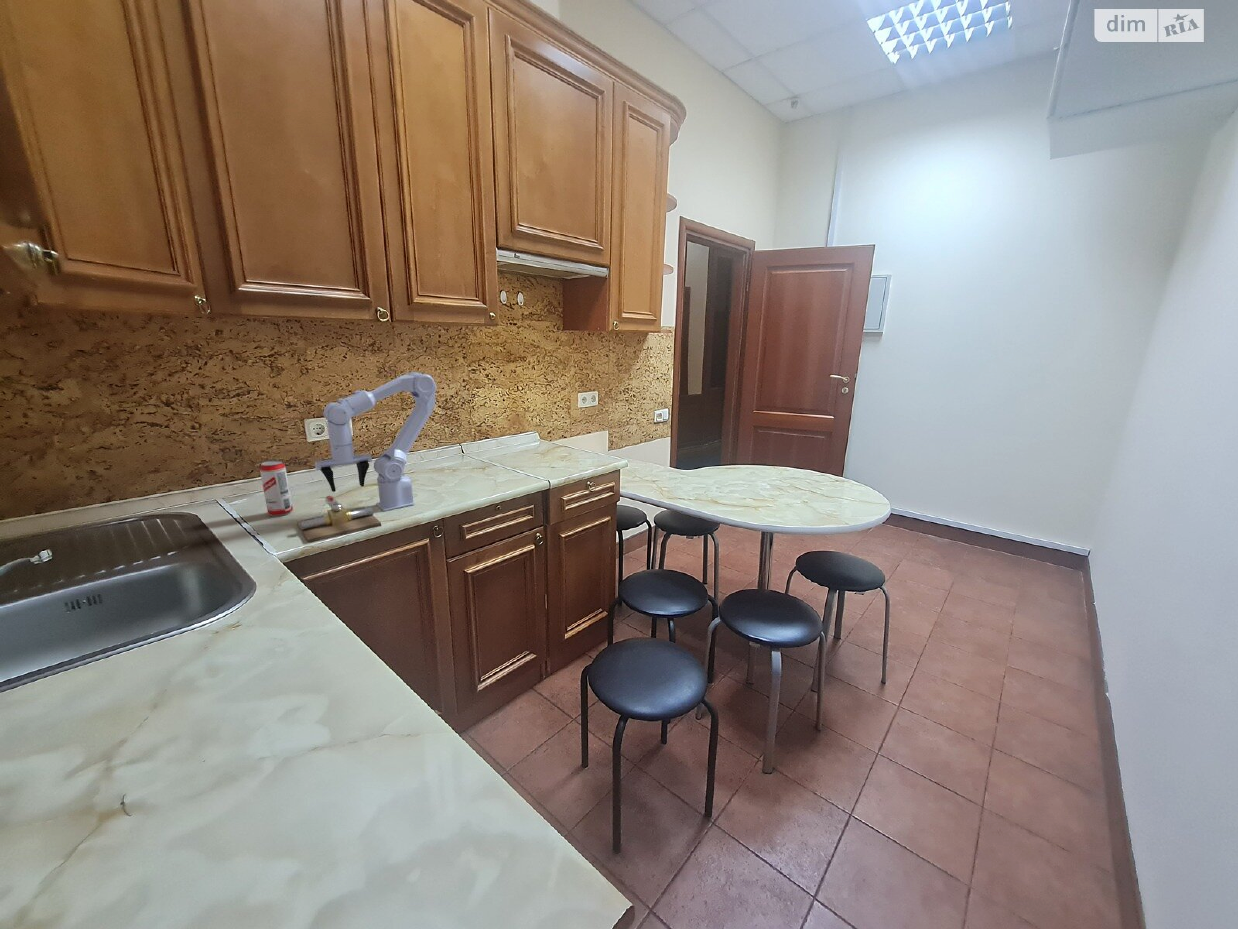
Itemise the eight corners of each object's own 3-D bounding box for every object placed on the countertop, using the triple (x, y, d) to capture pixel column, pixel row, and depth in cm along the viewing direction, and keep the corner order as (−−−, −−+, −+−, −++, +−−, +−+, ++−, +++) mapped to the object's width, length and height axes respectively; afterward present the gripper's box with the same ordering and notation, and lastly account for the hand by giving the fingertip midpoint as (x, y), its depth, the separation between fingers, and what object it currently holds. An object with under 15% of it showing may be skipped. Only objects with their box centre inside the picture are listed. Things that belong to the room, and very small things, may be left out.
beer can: (280, 518, 141) (271, 466, 136) (263, 516, 142) (252, 464, 138) (298, 510, 147) (289, 460, 142) (281, 508, 148) (272, 459, 144)
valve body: (370, 514, 144) (368, 500, 143) (374, 518, 141) (372, 504, 140) (300, 529, 132) (298, 515, 131) (303, 534, 129) (301, 519, 128)
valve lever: (343, 510, 135) (342, 504, 135) (332, 512, 134) (331, 506, 133) (333, 499, 143) (332, 494, 143) (323, 501, 141) (322, 496, 141)
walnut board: (365, 510, 148) (364, 507, 148) (381, 525, 137) (380, 522, 136) (296, 524, 136) (296, 521, 136) (308, 543, 125) (307, 539, 125)
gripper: (364, 438, 146) (370, 480, 150) (309, 445, 137) (317, 489, 141) (371, 442, 141) (377, 485, 145) (315, 449, 132) (322, 495, 136)
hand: (348, 488), depth 143 cm, fingers open, 7 cm apart
